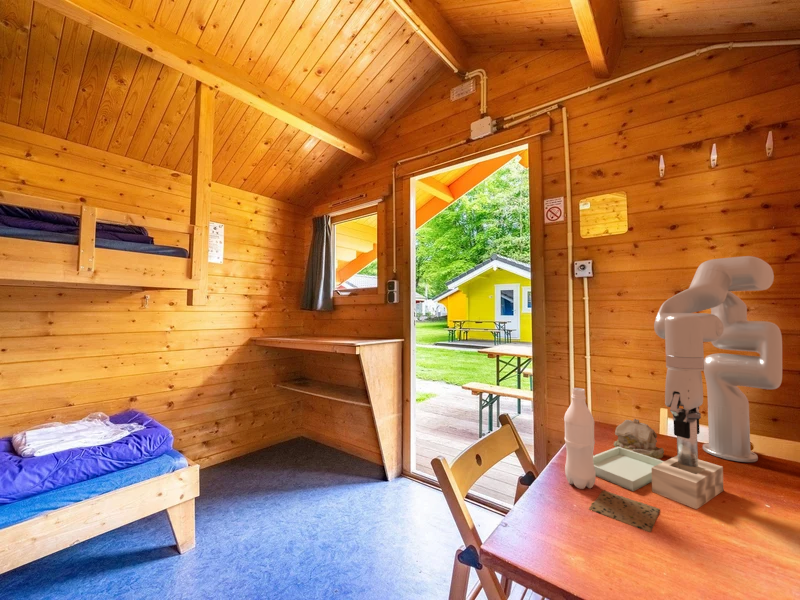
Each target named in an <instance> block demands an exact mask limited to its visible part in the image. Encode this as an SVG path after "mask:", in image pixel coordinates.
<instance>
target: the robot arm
mask: <svg viewBox="0 0 800 600" xmlns="http://www.w3.org/2000/svg"><path fill="white" fill-rule="evenodd" d="M774 279H775V276H774V270H773V268H772V266H771V265H770V264H769V263H768V262H766V261H765V260H764V259H762V258H759V257H757V256H752V255H746V256H743V255H742V256H733V257H723V258H715V259H714V258H713V259H708V260H706V261H704V262H701V263H700V264H699V266H698V267H697V269H696V271H695V273H694V276H693V278H692V280H691V283H690V284H689V286H688V288H687V289H684V290H683V291H680V292H678V293H677V294H674V295H673V296H672V297H669V298H668V299H667V300H665V301H664V302H663V303H662V304H661V305H660V307H659V310H658V311H657V314H656V315H655V320H654V323H653V327H654V328H653V329H654V332H655V335H656V336H658V337H659V338H660V339H663V340H665V341H664V344H665V345H664V347H665V368H666V375H665V387H664V388H665V389H664V404H665V406H666V407H667V408H669V411H670V412H671V415H672V420H673V434H674V436H676V437H677V436H679V437H683V438H687V439H689V438H690V422H688V413H689V410H693V411H696V412H699V413H700V406H702V405H703V403H704V386H703V376H702V372H703V373H704V377H705V383H706V391H707V392H706V394H707V421H708V424H707V425H708V442H706V443H703V444H702V450H703V451H704V452H706V453H707V454H710V455H712V456H714V457H717V458H720V459H724V460H728V461H733V462H738V463H740V462H741V463H756V462H757V461H758V460H759V457H758V454H756V453H755V452H753V451H751V431H750V430H751V429H750V427H751V426H750V403H749V399H748V397H747V396H746V394H745V393H744V392H743V391H742V390H741V389H740V388H739V387H749V388H756V389H763V390H776V389H778V388H780V386H781V384H782V381H783V335H782V332H781V329H780V327H779V326H778V325H777V324H776V323H774V322H771V321H766V320H765V321H764V320H748V318H747V317H748V307H747V304H746V303H745V302H744V301H743V300H742V299H741V298H740V297H739V296H737V295H736V294H735V293H733V292H747V291H748V292H751V291H752V292H754V291H756V292H757V291H758V292H759V291H766V290H768V289H769V288H771V286H772V285H773V283H774ZM706 310H710V313H704V312H703V313H702V311H706ZM700 312H701V313H700ZM704 343H711V344H712V346H713V347H715V348H717V349H720V350H727V351H737V352H738V351H739V352H751V353H752V352H753V353H757V354H759V356H757V355H745V354H738V353H737V354H736V353H735V354H733V353H723V352H722V353H712V354H709V355H706V356H705V354H704V352H705V351H704ZM704 357H705V358H704ZM681 407H683V408H681ZM680 411H684V415H683V414H682V412H680ZM699 434H700V419H697V435H699Z"/></svg>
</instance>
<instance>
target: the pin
mask: <svg viewBox="0 0 800 600" xmlns="http://www.w3.org/2000/svg"><path fill="white" fill-rule="evenodd" d="M680 412H682V414H683V415H684V411H680ZM701 416H702V414H701V412H700V411H699V412H696V411H693V410H689V413H688V422H690V438H689V439H687V438H683V437H679V436H676V451H677V455H676V456H677V457H678V462H679V463H680V464H683V465H686V466H690V467H697V466H698V459H699V452H698V450H699V449H698V434H697V419H699V420H700V419H701V418H702V417H701Z"/></svg>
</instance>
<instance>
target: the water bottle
mask: <svg viewBox="0 0 800 600" xmlns="http://www.w3.org/2000/svg"><path fill="white" fill-rule="evenodd" d="M571 392H572V393H571V403H570V405H569V406H568V408H567V410H566V411H565V413H564V416H563V421H564V438H563V439H564V441H565V442H564V443H565V448H566V449H565V450H566V458H565V466H564V474H565V477H566V480H567V483H569V484H570V485H574V486H575V487H576V488H577V489H581V490H584V489H585V488H588V489H591V488H593V486H594V485H595V482H596V477H597V476H596V472H595V468H594V462H593V456H594V449H595V420H594V419H595V418H594V417H593V414H592V412H591V411H590V409H589V407H588V405H587V403H586V399H587V397H586V390H585V388H582V387H581V388H580V387H572V389H571Z"/></svg>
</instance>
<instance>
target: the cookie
mask: <svg viewBox="0 0 800 600" xmlns="http://www.w3.org/2000/svg"><path fill="white" fill-rule="evenodd" d="M588 510H589V511H591V510H592V511H591V512H594V513H598V514H599V515H602V516H605V517H608V518H610V519H612V520H615V521H618V522H621V523H623V524H626V525H629V526H632V527H634V528H637V529H640V530H641V531H645V532H646V533H652V531H653V528H654V526H655V524H656V521H657V519H658V517H659V515H660V512H661V509H660V508H659V507H656V506H652V505H649V504H647V503H643V502H641V501H637V500H634V499H632V498H628V497H625V496H623V495H619V494H616V493H613V492H610V491H606V490H602V491H601V492H600V494H599V495H598V497H597V498H596V499H595V500H594V501H593V502H591V505H590V506H589V508H588Z"/></svg>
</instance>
